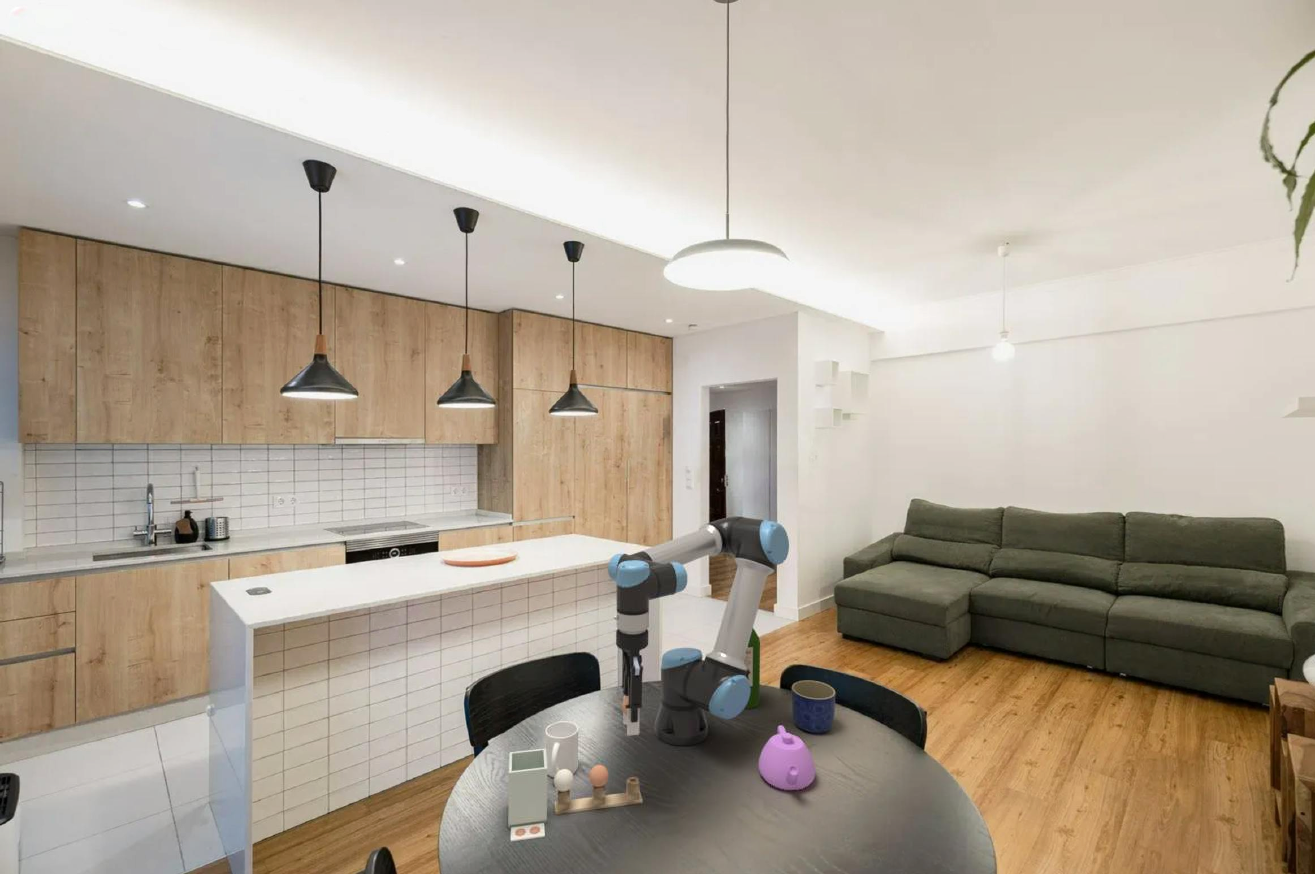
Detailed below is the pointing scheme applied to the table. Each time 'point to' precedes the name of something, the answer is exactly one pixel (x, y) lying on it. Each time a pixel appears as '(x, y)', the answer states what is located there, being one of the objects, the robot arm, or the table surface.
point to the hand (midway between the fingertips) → (631, 728)
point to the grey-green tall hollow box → (527, 788)
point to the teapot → (786, 762)
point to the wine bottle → (753, 669)
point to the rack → (599, 798)
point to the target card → (527, 832)
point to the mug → (561, 747)
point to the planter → (813, 705)
